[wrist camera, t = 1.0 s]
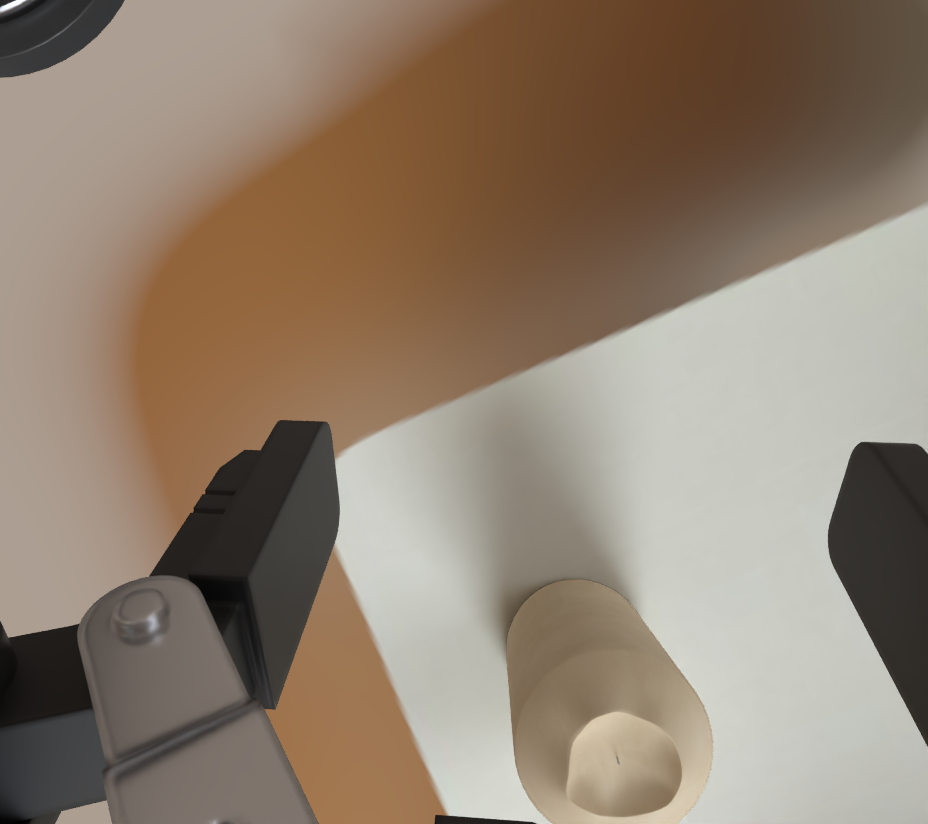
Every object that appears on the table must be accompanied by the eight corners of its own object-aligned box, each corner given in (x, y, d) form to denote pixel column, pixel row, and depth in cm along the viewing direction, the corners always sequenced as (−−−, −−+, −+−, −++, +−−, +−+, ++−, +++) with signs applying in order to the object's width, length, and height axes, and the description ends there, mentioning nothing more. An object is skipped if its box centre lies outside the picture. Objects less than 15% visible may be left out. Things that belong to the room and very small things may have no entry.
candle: (530, 733, 29) (553, 906, 19) (487, 601, 29) (487, 703, 19) (664, 692, 29) (759, 844, 19) (621, 559, 29) (693, 639, 19)
